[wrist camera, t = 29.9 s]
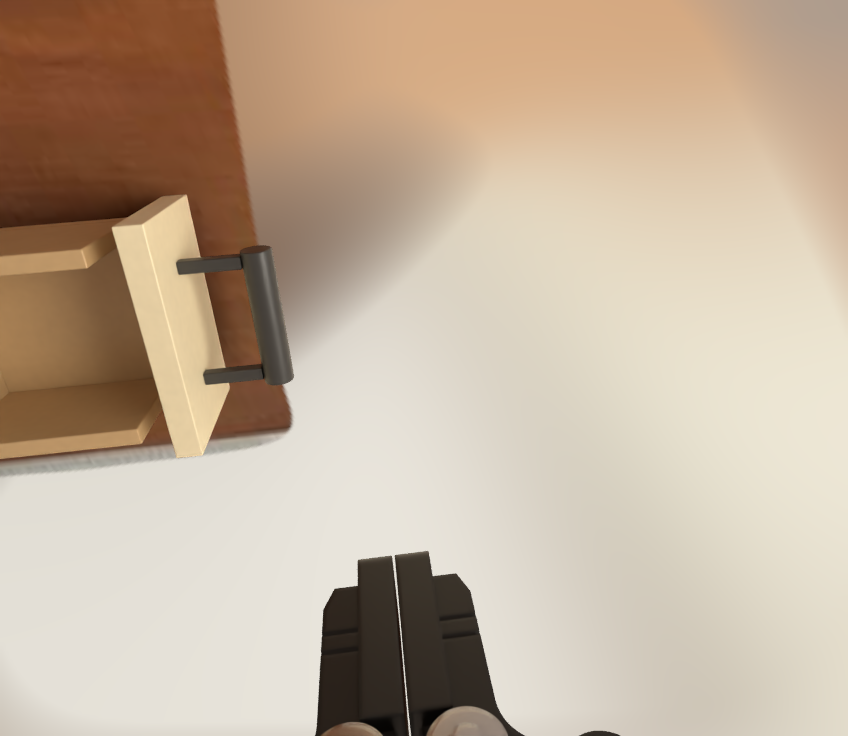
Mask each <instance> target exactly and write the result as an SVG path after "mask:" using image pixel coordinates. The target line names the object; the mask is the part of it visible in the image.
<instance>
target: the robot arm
mask: <svg viewBox="0 0 848 736" xmlns="http://www.w3.org/2000/svg"><path fill="white" fill-rule="evenodd" d="M395 562H396V573H397V585H398V596H399V608H400V619H401V630H402V642H403V654H404V665H405V676H406V687H407V699H408V710H409V719H410V728H411V736H524V735H523V734H521V733H519V732H518V731H516V730H515V729H514V728H512V727H511V726H510V725H509V724H508V723H507V722H506V720H505V719H504V718H503V716H502V715H501V713H500V711H499V709H498V707H497V704H496V701H495V697H494V693H493V688H492V684H491V680H490V675H489V671H488V667H487V662H486V658H485V653H484V649H483V645H482V640H481V636H480V633H479V627H478V623H477V619H476V616H475V610H474V605H473V601H472V597H471V592H470V590H469V589H468V588H467V586H466V585H465V584H464V583H463V581H462V580H461V579H460V578H459V577H458V575H457V574H448V575H440V576H432V570H431V564H430V558H429V552H428V551H424V552H417V553H408V554H400V555H395ZM321 653H322V654H321V663H320V680H319V698H318V699H319V700H318V717H317V729H316V735H315V736H409V730H408V718H407V707H406V695H405V683H404V671H403V659H402V648H401V636H400V625H399V615H398V606H397V597H396V588H395V579H394V570H393V562H392V556H385V557H378V558H369V559H361V560H358V586H354V587H346V588H338V589H334V591H333V593H332V595H331V597H330V599H329V601H328V602H327V604H326V606H325V608H324V610H323V627H322V647H321ZM580 736H620V735H618V734H615V733H611V732H607V731H591V732H587V733H584V734H582V735H580Z"/></svg>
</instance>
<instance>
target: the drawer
mask: <svg viewBox="0 0 848 736" xmlns="http://www.w3.org/2000/svg"><path fill="white" fill-rule="evenodd" d="M242 268H243V271H244V276H245V281H246V286H247V291H248V296H249V301H250V306H251V312H252V317H253V322H254V327H255V332H256V337H257V342H258V347H259V352H260V357H261V363H262V364H257V365H247V366H237V367H227V368H225V364H224V359H223V355H222V350H221V346H220V341H219V337H218V333H217V328H216V324H215V319H214V315H213V310H212V306H211V301H210V297H209V293H208V288H207V284H206V279H205V275H204V273H208V272H219V271H230V270H241V269H242ZM264 378H265V382H266V383H267V384H269V385H282V384H285V383H288V382H290V381H291V380H292V379H293V378H294V374H293V368H292V362H291V356H290V351H289V345H288V339H287V333H286V328H285V322H284V316H283V310H282V304H281V298H280V293H279V287H278V281H277V275H276V269H275V264H274V258H273V252H272V248H271V247H270V246H252V247H248V248H244V249H242V250H241V251H240V254H232V255H221V256H210V257H200V253H199V248H198V244H197V239H196V235H195V230H194V226H193V222H192V217H191V213H190V208H189V204H188V199H187V195H185V194H184V195H172V196H162V197H160V198H159V199H157V200H155V201H154V202H152V203H150V204H149V205H147V206H145V207H144V208H142V209H141V210H139V211H137V212H136V213H134V214H132V215H131V216H129V217H127V218H115V219H103V220H91V221H79V222H67V223H55V224H43V225H31V226H19V227H7V228H0V459H4V458H13V457H22V456H32V455H41V454H50V453H60V452H69V451H78V450H87V449H97V448H106V447H115V446H125V445H134V444H141V443H142V442H143V440H144V439H145V437H146V435H147V434H148V432H149V430H150V428H151V427H152V425H153V423H154V422H155V420H156V418H157V416H158V415H159V413H160V411H161V410H162V408H163V412H164V415H165V419H166V422H167V426H168V429H169V433H170V436H171V440H172V443H173V447H174V450H175V454H176V457H177V458H183V457H192V456H201V455H203V453H204V451H205V448H206V446H207V443H208V441H209V438H210V436H211V433H212V431H213V428H214V426H215V423H216V421H217V418H218V416H219V413H220V411H221V408H222V406H223V403H224V401H225V398H226V396H227V393H228V391H229V388H230V386H229V383H232V382H241V381H251V380H261V379H264Z"/></svg>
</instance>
